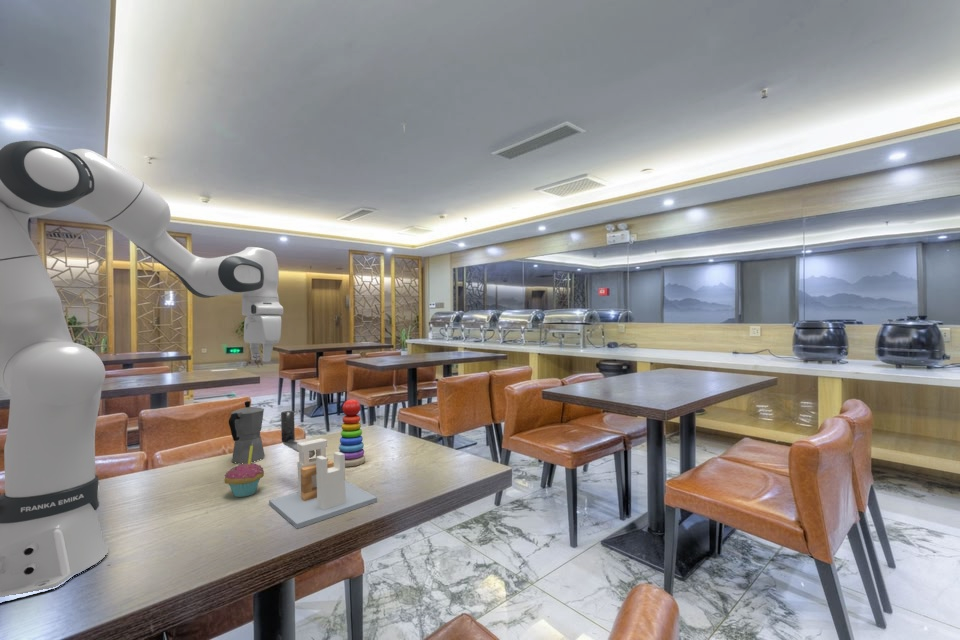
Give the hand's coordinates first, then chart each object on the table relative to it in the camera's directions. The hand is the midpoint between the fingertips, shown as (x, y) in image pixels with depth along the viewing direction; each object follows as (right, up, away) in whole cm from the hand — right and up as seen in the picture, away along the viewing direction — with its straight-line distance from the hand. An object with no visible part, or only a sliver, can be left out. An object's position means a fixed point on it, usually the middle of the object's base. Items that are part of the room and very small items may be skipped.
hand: (260, 360), depth 115 cm
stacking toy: (+21, -32, +12) cm, 40 cm away
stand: (+23, -31, -16) cm, 42 cm away
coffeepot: (-13, -33, +17) cm, 39 cm away
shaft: (+12, -22, -5) cm, 26 cm away
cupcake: (+1, -32, -9) cm, 33 cm away
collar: (+21, -30, -14) cm, 39 cm away
